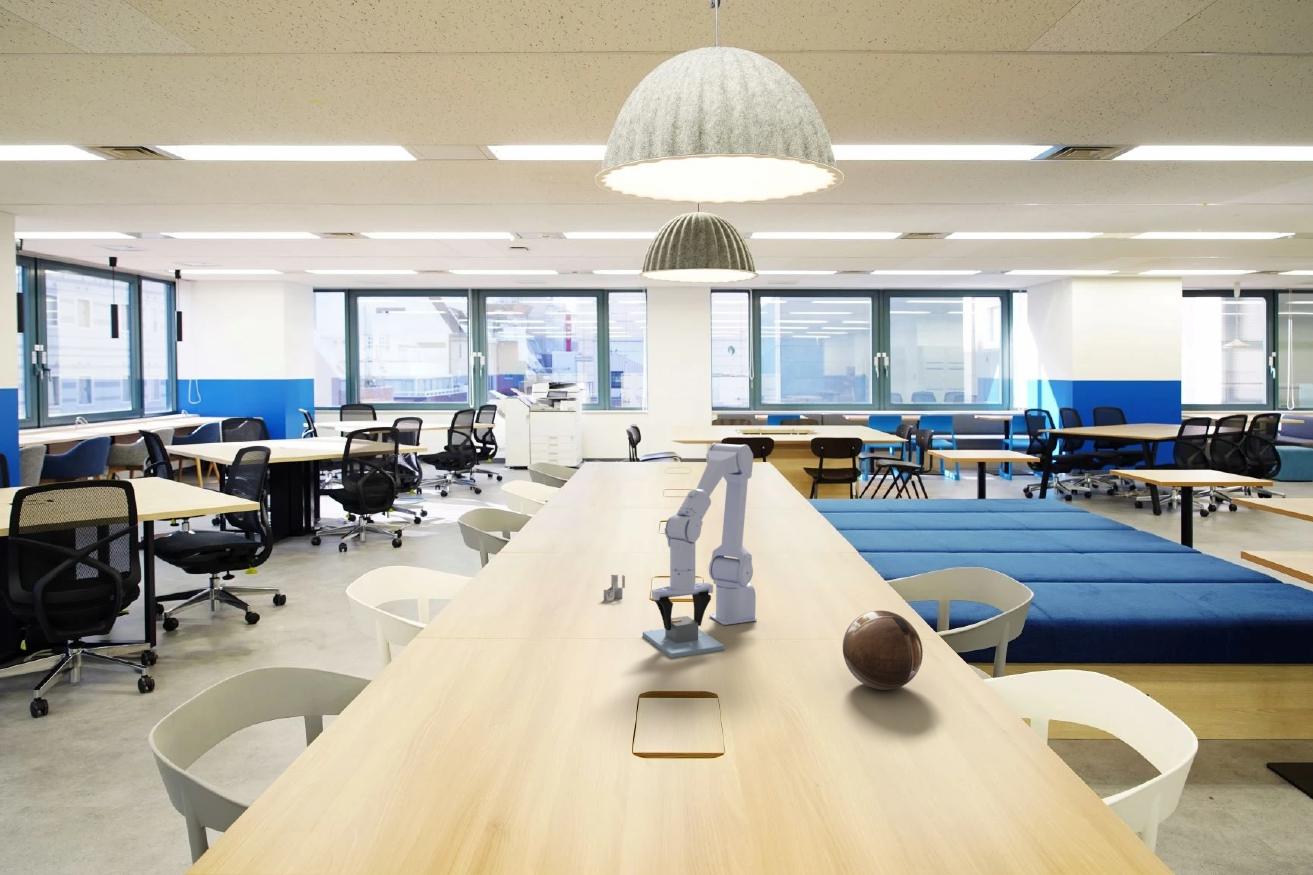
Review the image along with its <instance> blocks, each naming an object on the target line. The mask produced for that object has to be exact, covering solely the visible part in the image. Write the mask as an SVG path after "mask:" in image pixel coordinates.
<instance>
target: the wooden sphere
mask: <svg viewBox="0 0 1313 875" xmlns="http://www.w3.org/2000/svg"><path fill="white" fill-rule="evenodd" d="M842 655H843V658H844V662H845V664H846V666H847V669H848V670H849V671H850V673H851V674H852V675H853V677H854V678H856V680H858V681H859V682H860V683H862V684H863V685H864V686H866V687H869V688H870V689H874V690H878V691H879V690H880V691H891V690H896V689H899V688H901V687H903V686H905V685H907V684H908V683H910V682H911V681H912V680H913V679H914V677H915V676H916V675H917V674H918V672H919V670H920V668H921V665H922V662H923V655H924V654H923V644H922V640H921V638H920V635H919V633H918V631H917V630H916V628H915V627H914V626H913V625H912V624H911V623H910V622H909V620H907V619H906V618H904V617H903V616H901V615H899V614H897V613H895V612H892V611H887V610H871V611H868V612H865V613H863V614H861V615H860V616H857V618H856V619H854V620H852V622H851V623H850V625H849V626H848V628H847V630H846V631H845V634H844V636H843V640H842Z"/></svg>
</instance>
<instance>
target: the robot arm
mask: <svg viewBox="0 0 1313 875" xmlns="http://www.w3.org/2000/svg"><path fill="white" fill-rule="evenodd" d="M705 456H706V457H705V458H706V459H705V460H706V467H705V469H704V471H703V474H702V476H701V477H700V480H699V482H698V484H697V487H696V488H695V489H692V490H690V491H689V492H688V493H687V495H686V496H685V498H684V500H683V502H682V504H681V506H680V507H679V509H678V511H677V513H676V514H674V515H671V516H670V517H669V518H668V519H667V521H666V523H665V528H664V534H665V537H666V539H667V546H668V548H669V550H670V552H669V554H670V555H669V557H670V558H669V568H670V569H669V576H670V577H669V585H667V586H665V587H664V586H663V587H660V588H655V589H651V599H653V600H654V602H655V604H656V606H657V608H658V610H659V612H660V615H661V618H662V622H663V627H664V628H663V629H666V630H671V618H672V611H673V605H674V603H673V602H672V601H671V599H670V598H676V597H684V596H692V601H693V602H692V603H693V620H695V621H696V622H698V627H701V626H702V622H703V618H704V614H705V612H706V610H707V607H708V605H709V603H710V602H711V600H712V595H710V594H713V593H714V585H715V613H712V614H710V613H709V618H711V619H712V620H714V621H716V622H717V623H720V624H721V625H723V626H728V625H735V624H742V623H748V622H750V623H751V622H756V621H757V620H758V619H757V618H756V598H757V597H756V591H755V587H754V586H753V584H752V583H750V582H751V580H752V578H753V574H754V568H753V557H752V554H751V553H750V552H749V551H748V550H747V549H746V548H745V547H744V546H743V543H744V542H743V541H744V532H745V531H744V529H745V518H746V509H747V508H746V506H747V494H748V482H749V479H751V478H752V474H753V473H752V472H753V467H754V466H753V464H754V452H752V450H751V448H750V446H749V445H748V444H732V443H731V444H729V443H718V442H713V443H712V444H711V445H710V446H709V447H708V450H707V453H706V455H705ZM722 479H724V480H725V481H726V489H725V498H724V499H725V503H724V512H723V525H722V537H721V544H720V545H719V546H718V547H717V548H715V549H714V550H713V551H712V554H711V560H710V562H709V565H708V574H709V577H710V579H711V580H713V584H712V583H710V582H702V583H697V582H696V542H697V541H698V540H699V538H700V537H701V533H702V527H703V522H704V521H703V519H704V517H705V515H706V514H707V512H708V510H709V508H710V506H711V504H712V500H711V497H710V496H711V494H712V493H713V492H714V490H715V489H716V487H717V485H718V484H719V483H720V482H721V480H722Z"/></svg>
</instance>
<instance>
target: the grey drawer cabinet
mask: <svg viewBox="0 0 1313 875" xmlns="http://www.w3.org/2000/svg"><path fill="white" fill-rule="evenodd" d="M664 629H665V628H664ZM698 629H699V626H698V622H696V621H695V620H694V618H691V617H690V616H688V615H685V616H677V617H671V630H666V629H665V636H666V637H668V638H669V639H670V640H672V641H673V642H675V643H682V642H689V641H695V640H698Z"/></svg>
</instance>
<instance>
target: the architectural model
mask: <svg viewBox="0 0 1313 875" xmlns="http://www.w3.org/2000/svg"><path fill="white" fill-rule="evenodd" d="M610 578H611V579H610V580H611V581H610V582H611V586H610V587H609V588H608V589H603V601H607V602H613V601H614V600H615V598H616V599H623V589H626V576H625V575H624V574H623V575H622V576H621V585H622V586H621V587H619V574H611V576H610Z"/></svg>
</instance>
